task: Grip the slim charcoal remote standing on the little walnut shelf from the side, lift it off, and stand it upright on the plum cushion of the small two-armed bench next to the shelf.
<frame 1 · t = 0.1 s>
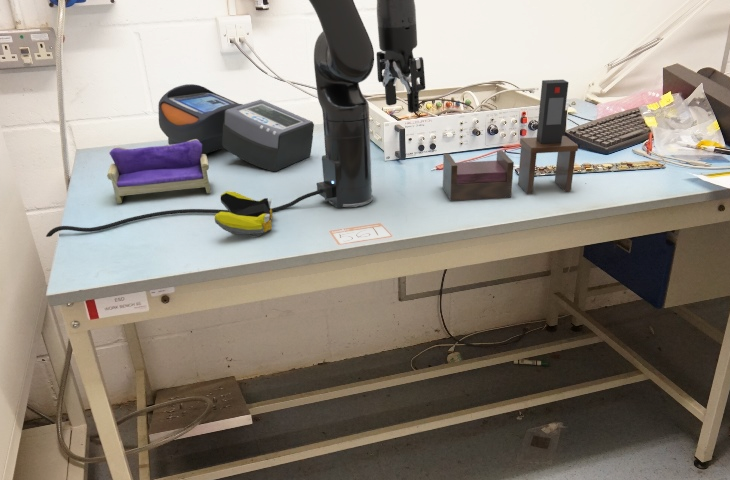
hand: (402, 108, 135), 17 cm above the table, tool pointing down, fingers open, 8 cm apart
toy sofa: (164, 194, 145), on the table
cushioned bench: (476, 192, 141), on the table
yellow bananas: (247, 228, 126), on the table
diagnostic device: (241, 156, 170), on the table
slim remote: (548, 141, 137), point 10 cm above the table, touching walnut shelf
walnut shelf: (543, 187, 142), on the table
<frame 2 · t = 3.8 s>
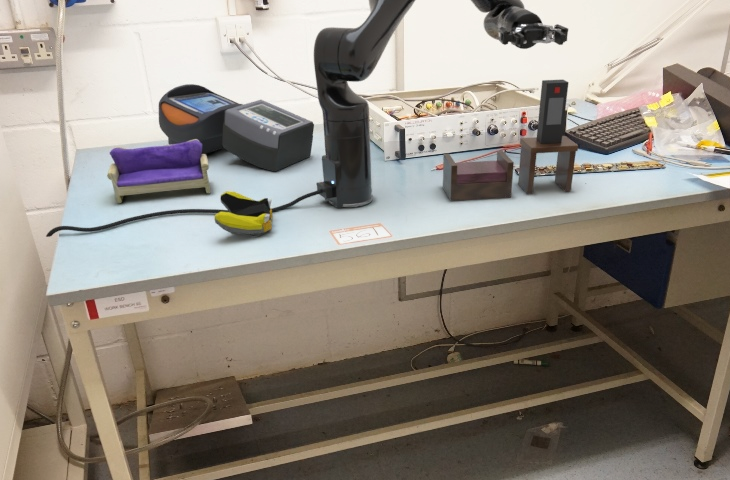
hand: (542, 40, 136), 28 cm above the table, tool horizontal, fingers open, 8 cm apart
nothing on the table moved.
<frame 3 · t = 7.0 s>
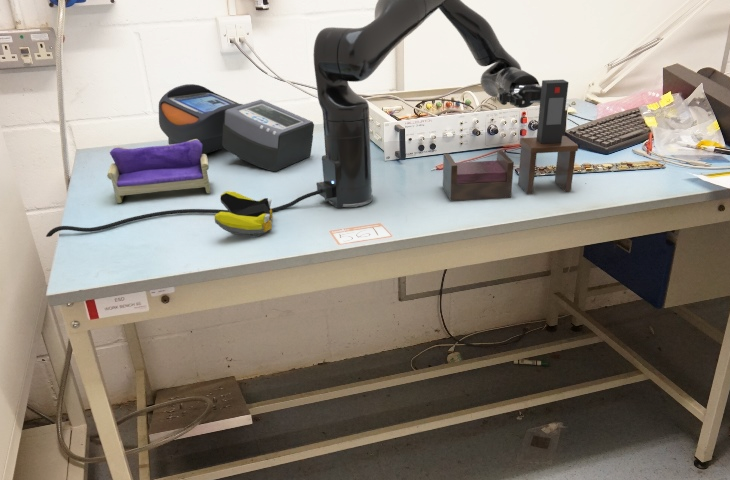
hand: (540, 101, 140), 17 cm above the table, tool horizontal, fingers open, 8 cm apart
nothing on the table moved.
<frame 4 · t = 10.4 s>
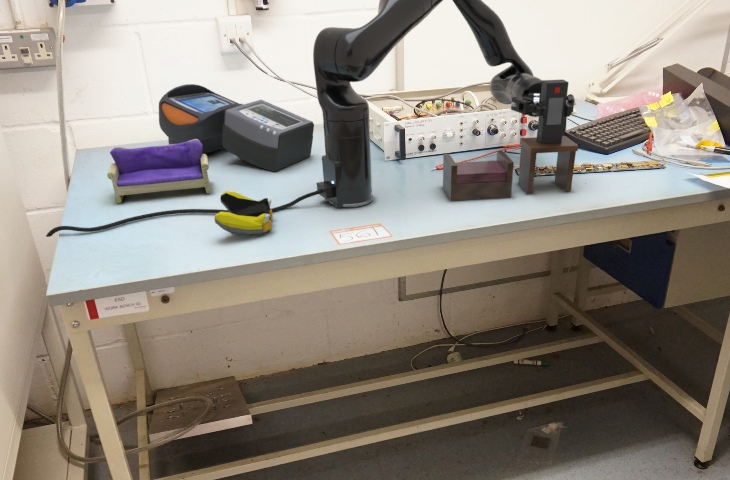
hand: (556, 111, 131), 17 cm above the table, tool horizontal, fingers closed on slim remote, 4 cm apart
slim remote: (548, 141, 137), point 10 cm above the table, touching gripper, walnut shelf
everything else where it was.
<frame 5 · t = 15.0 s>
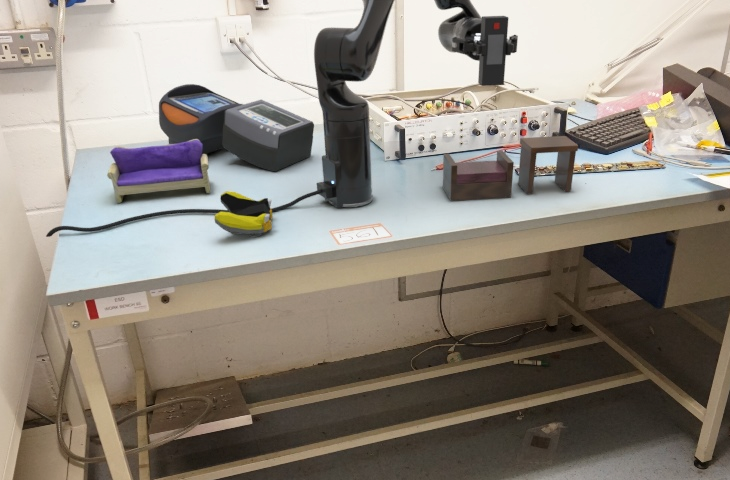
hand: (496, 49, 123), 29 cm above the table, tool horizontal, fingers closed on slim remote, 4 cm apart
slim remote: (490, 83, 129), point 22 cm above the table, touching gripper
everything else where it was.
when the fingers open (12 cm above the table, at t = 20.0 s): slim remote stays where it is, resting on cushioned bench.
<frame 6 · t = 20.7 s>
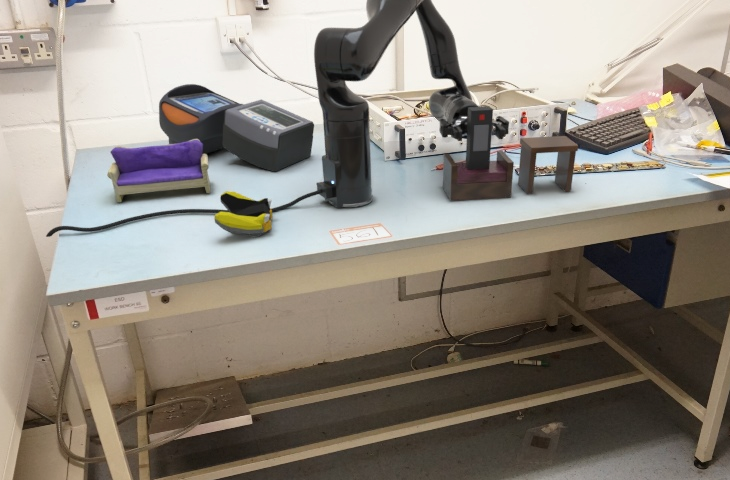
hand: (481, 135, 132), 13 cm above the table, tool horizontal, fingers open, 8 cm apart
slim remote: (477, 167, 138), point 5 cm above the table, touching cushioned bench
everything else where it was.
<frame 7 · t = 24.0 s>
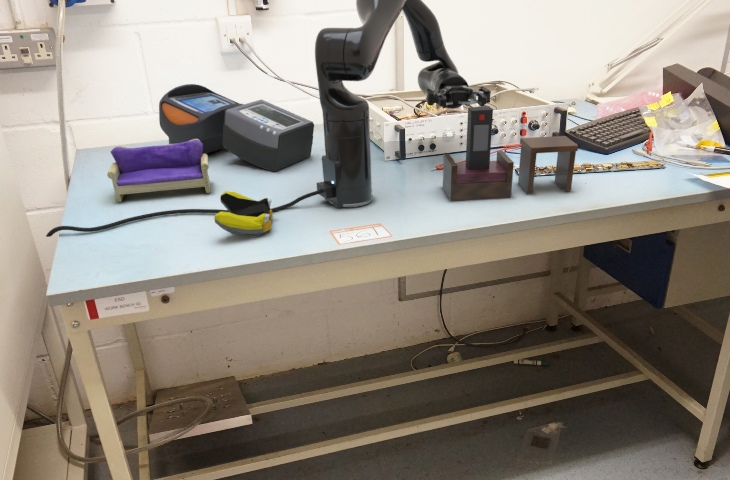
hand: (464, 102, 142), 16 cm above the table, tool horizontal, fingers open, 8 cm apart
nothing on the table moved.
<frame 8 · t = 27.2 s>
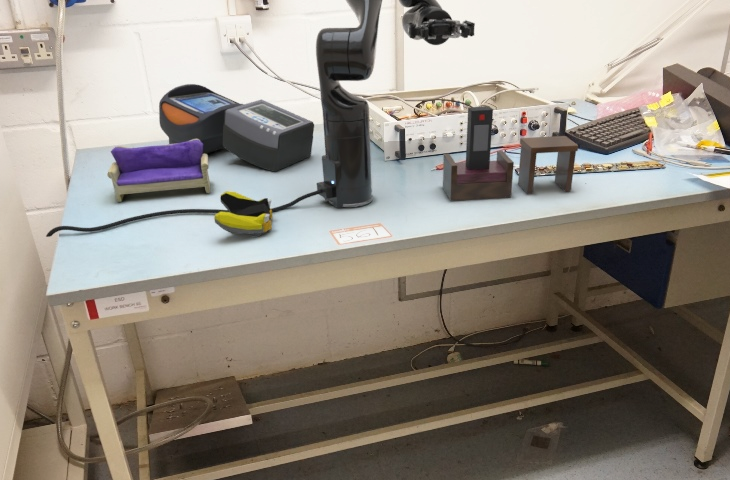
hand: (446, 33, 137), 30 cm above the table, tool horizontal, fingers open, 8 cm apart
nothing on the table moved.
at the end: slim remote 0.1 cm off-centre on the cushioned bench, point 5.5 cm above the cushioned bench's base; slim remote tilted 0°; the gripper is holding nothing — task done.
